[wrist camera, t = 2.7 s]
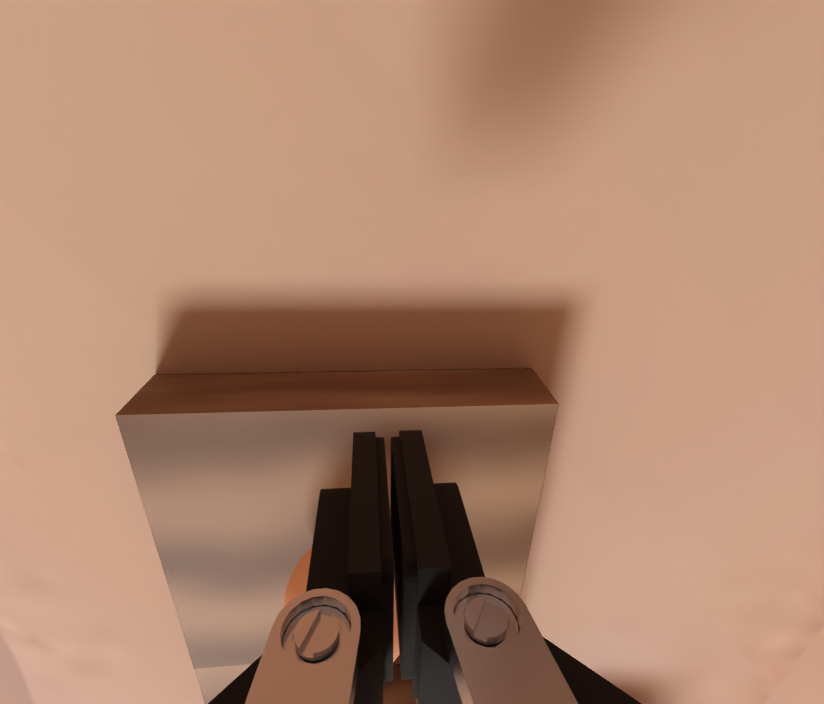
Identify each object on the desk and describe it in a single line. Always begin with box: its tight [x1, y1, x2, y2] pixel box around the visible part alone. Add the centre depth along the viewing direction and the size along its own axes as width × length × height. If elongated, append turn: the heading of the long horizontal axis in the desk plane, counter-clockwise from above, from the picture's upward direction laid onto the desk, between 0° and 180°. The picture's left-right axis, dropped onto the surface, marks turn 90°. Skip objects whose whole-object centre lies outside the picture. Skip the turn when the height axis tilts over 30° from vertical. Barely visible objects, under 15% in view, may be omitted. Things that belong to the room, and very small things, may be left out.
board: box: [115, 368, 559, 704], centre depth 22 cm, size 24×16×3 cm, turn 178°
